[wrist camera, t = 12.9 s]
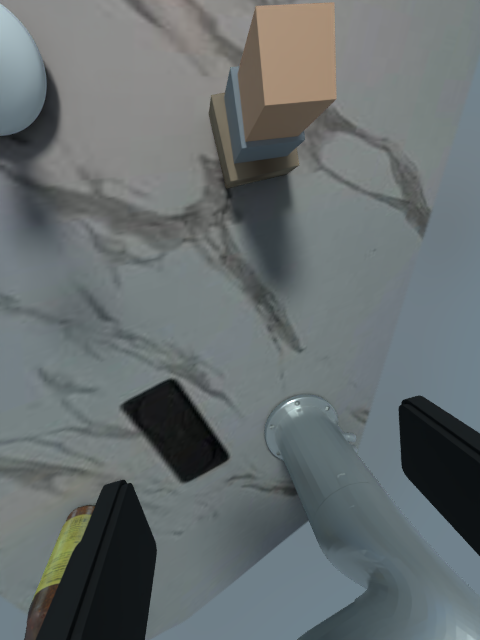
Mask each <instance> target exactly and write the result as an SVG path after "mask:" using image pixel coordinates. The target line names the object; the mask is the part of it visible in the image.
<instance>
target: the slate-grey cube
mask: <svg viewBox="0 0 480 640" xmlns="http://www.w3.org/2000/svg"><path fill="white" fill-rule="evenodd" d="M239 67H240V66H239ZM239 67H230V72H229V76H228V81H227V86H226V91H225V95H224V101H225V107H226V114H227V121H228V127H229V134H230V140H231V147H232V153H233V160H234V164H236V163H242V162H249V161H256V160H263V159H270V158H277V157H284V156H288V155H289V154H290V153H291V152H292V151H293V150H294V149H295V148H296V147H298V146H299V145H300V144H301V143H302V142H303V141H304V140H305V136H304V131H303V132H302V133H301V134H300V135H299V136H295V137H286V138H276V139H267V140H257V141H248V142H245V135H244V126H243V117H242V108H241V100H240V91H239V82H238V70H239Z"/></svg>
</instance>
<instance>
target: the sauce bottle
mask: <svg viewBox="0 0 480 640" xmlns="http://www.w3.org/2000/svg"><path fill="white" fill-rule="evenodd" d="M94 508H95V506H90V505H86V506H82V507H78V508H77V509H75V510H74V511H73V512H71V513H70V515H69V516H68V518H67V520H66V523H65V524H64V525H63V527H62V530H61V532H60V534H59V537H58V539H57V542H56V544H55V547H54V549H53V552H52V554H51V556H50V559H49V561H48V564H47V566H46V568H45V571H44V573H43V576H42V578H41V581H40V583H39V586H38V588H37V590H36V593H35V595H34V598H33V600H32V603H31V605H30V608H29V612H28V618H27V627H26V633H25V639H24V640H36V637H37V635H38V633H39V630H40V628H41V626H42V623H43V621H44V618H45V616H46V614H47V611H48V609H49V607H50V604H51V602H52V599H53V597H54V595H55V592H56V590H57V588H58V585H59V583H60V581H61V578H62V576H63V573H64V571H65V569H66V566H67V564H68V562H69V559H70V557H71V554H72V552H73V550H74V549H75V547H76V546H77V544H78V543H79V542H81V539H82V537H83V534H84V532H85V530H86V527H87V525H88V522H89V520H90V517H91V515H92V512H93V510H94Z"/></svg>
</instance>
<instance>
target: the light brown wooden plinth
mask: <svg viewBox="0 0 480 640" xmlns="http://www.w3.org/2000/svg"><path fill="white" fill-rule="evenodd" d="M224 95H225V93H220V94H215V95H211V101H210V109H209V117H210V122H211V126H212V130H213V134H214V139H215V143H216V147H217V152H218V156H219V160H220V164H221V169H222V173H223V177H224V182H225V186H226V189H227V188H231V187H235V186H239V185H244V184H248V183H252V182H256V181H260V180H265V179H269V178H273V177H277V176H281V175H286V174H288V173H289V172H291V171H292V170H293V169H295V168H296V167H297V166H299V160H298V154H297V147H296V148H295V149H294V150H293V151H292V152H291V153H290V154H289V155H288V156H284V157H277V158H270V159H263V160H256V161H249V162H242V163H236V164H234V160H233V153H232V147H231V140H230V134H229V127H228V121H227V114H226V107H225V101H224Z"/></svg>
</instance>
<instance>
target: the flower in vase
mask: <svg viewBox="0 0 480 640" xmlns="http://www.w3.org/2000/svg"><path fill="white" fill-rule="evenodd" d="M46 89H47V81H46V72H45V67H44V63H43V60H42V57H41V54H40V52H39V49H38V47H37V45H36V43H35V42H34V40H33V38H32V36H31V35H30V33H29V32H28V30H27V29H26V28H25V27H24V25H23V24H22V23H21V22H20V20H19V19H18V18H17V17H16V16H15V15H14V14H13V13H12V12H10V11H9V10H8V9H7V8H6V7H4V6H3V5H2V4H0V136H4V135H11V134H14V133H17V132H19V131H22V130H23V129H25V128H27V127H28V126H29V125H30V124H31V123H33V122H34V121H35V119H36V118H37V117H38V115H39V113H40V112H41V110H42V107H43V105H44V102H45V97H46Z"/></svg>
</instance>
